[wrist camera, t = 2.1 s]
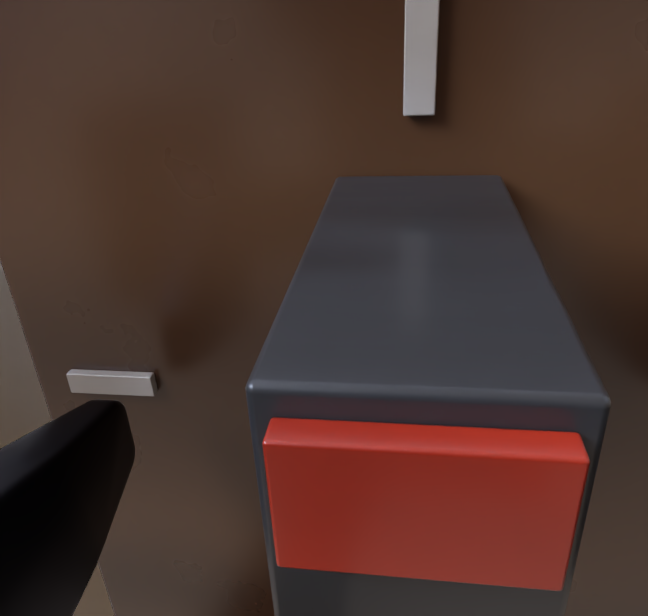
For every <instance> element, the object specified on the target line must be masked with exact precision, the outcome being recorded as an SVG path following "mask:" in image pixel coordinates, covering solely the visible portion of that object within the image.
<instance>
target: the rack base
mask: <svg viewBox="0 0 648 616" xmlns="http://www.w3.org/2000/svg"><path fill="white" fill-rule="evenodd" d="M462 175H498V176H501V177H502V179H503V181H504V183H505V185H506V187H507V189H508V191H509V193H510V195H511V198H512V200H513V202H514V204H515V206H516V208H517V210H518V212H519V214H520V216H521V218H522V220H523V222H524V224H525V226H526V228H527V230H528V232H529V234H530V236H531V238H532V240H533V242H534V244H535V246H536V248H537V250H538V252H539V254H540V256H541V259H542V261H543V263H544V265H545V267H546V269H547V271H548V273H549V275H550V277H551V279H552V281H553V283H554V285H555V287H556V289H557V291H558V293H559V295H560V297H561V299H562V301H563V303H564V305H565V307H566V309H567V311H568V313H569V315H570V317H571V320H572V322H573V324H574V326H575V328H576V330H577V332H578V334H579V336H580V338H581V340H582V342H583V344H584V346H585V348H586V350H587V352H588V354H589V356H590V358H591V360H592V362H593V364H594V366H595V368H596V370H597V372H598V374H599V376H600V378H601V381H602V383H603V385H604V387H605V389H606V391H607V393H608V395H609V397H610V400H611V408H610V412H609V417H608V421H607V426H606V430H605V435H604V439H603V444H602V448H601V453H600V457H599V462H598V466H597V471H596V475H595V480H594V484H593V489H592V493H591V498H590V503H589V507H588V512H587V516H586V521H585V525H584V530H583V534H582V539H581V543H580V548H579V552H578V557H577V561H576V566H575V570H574V575H573V579H572V584H571V588H570V593H569V597H568V602H567V606H566V611H565V615H564V616H648V0H0V261H1V264H2V267H3V270H4V273H5V276H6V279H7V282H8V285H9V288H10V292H11V295H12V298H13V301H14V304H15V307H16V310H17V313H18V316H19V319H20V323H21V326H22V329H23V332H24V335H25V338H26V341H27V344H28V347H29V350H30V354H31V357H32V360H33V363H34V366H35V369H36V372H37V375H38V378H39V381H40V385H41V388H42V391H43V394H44V397H45V400H46V403H47V406H48V409H49V412H50V416H51V419H52V421H53V420H55V419H56V418H58V417H60V416H62V415H64V414H66V413H68V412H69V411H71V410H73V409H75V408H77V407H79V406H81V405H82V404H84V403H86V402H88V401H90V400H94V399H102V400H118V401H120V402H121V403H123V405H124V406H125V409H126V412H127V416H128V420H129V424H130V428H131V432H132V436H133V440H134V445H135V459H134V463H133V466H132V469H131V472H130V475H129V477H128V480H127V483H126V486H125V489H124V491H123V494H122V497H121V500H120V502H119V505H118V508H117V511H116V514H115V516H114V519H113V522H112V525H111V527H110V530H109V533H108V536H107V539H106V541H105V544H104V547H103V549H102V552H101V554H100V557H99V560H98V564H99V568H100V571H101V574H102V577H103V580H104V583H105V586H106V589H107V592H108V595H109V599H110V602H111V605H112V608H113V611H114V614H115V616H275V615H274V607H273V600H272V592H271V584H270V576H269V569H268V561H267V553H266V545H265V538H264V530H263V522H262V514H261V507H260V499H259V491H258V483H257V476H256V468H255V460H254V453H253V445H252V437H251V429H250V422H249V414H248V406H247V398H246V391H245V387H246V384H247V381H248V379H249V377H250V374H251V372H252V370H253V368H254V365H255V363H256V361H257V358H258V356H259V354H260V352H261V349H262V347H263V345H264V342H265V340H266V338H267V336H268V333H269V331H270V329H271V326H272V324H273V322H274V319H275V317H276V315H277V313H278V310H279V308H280V306H281V303H282V301H283V299H284V297H285V294H286V292H287V290H288V287H289V285H290V283H291V281H292V278H293V276H294V274H295V271H296V269H297V267H298V265H299V262H300V260H301V258H302V255H303V253H304V251H305V249H306V246H307V244H308V242H309V239H310V237H311V235H312V233H313V230H314V228H315V226H316V223H317V221H318V219H319V217H320V214H321V212H322V210H323V207H324V205H325V203H326V201H327V198H328V196H329V194H330V191H331V189H332V187H333V185H334V182H335V180H336V178H338V177H350V176H462Z"/></svg>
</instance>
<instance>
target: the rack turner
mask: <svg viewBox="0 0 648 616" xmlns="http://www.w3.org/2000/svg"><path fill="white" fill-rule="evenodd" d="M245 391H246V398H247V406H248V414H249V422H250V429H251V437H252V445H253V453H254V460H255V468H256V476H257V483H258V491H259V499H260V507H261V514H262V522H263V530H264V538H265V545H266V553H267V561H268V569H269V576H270V584H271V592H272V600H273V607H274V615H275V616H564V615H565V611H566V606H567V602H568V597H569V593H570V588H571V584H572V579H573V575H574V570H575V566H576V561H577V557H578V552H579V548H580V543H581V539H582V534H583V530H584V525H585V521H586V516H587V512H588V507H589V503H590V498H591V493H592V489H593V484H594V480H595V475H596V471H597V466H598V462H599V457H600V453H601V448H602V444H603V439H604V435H605V430H606V426H607V421H608V417H609V412H610V408H611V400H610V397H609V395H608V393H607V391H606V389H605V387H604V385H603V383H602V381H601V378H600V376H599V374H598V372H597V370H596V368H595V366H594V364H593V362H592V360H591V358H590V356H589V354H588V352H587V350H586V348H585V346H584V344H583V342H582V340H581V338H580V336H579V334H578V332H577V330H576V328H575V326H574V324H573V322H572V320H571V317H570V315H569V313H568V311H567V309H566V307H565V305H564V303H563V301H562V299H561V297H560V295H559V293H558V291H557V289H556V287H555V285H554V283H553V281H552V279H551V277H550V275H549V273H548V271H547V269H546V267H545V265H544V263H543V261H542V259H541V256H540V254H539V252H538V250H537V248H536V246H535V244H534V242H533V240H532V238H531V236H530V234H529V232H528V230H527V228H526V226H525V224H524V222H523V220H522V218H521V216H520V214H519V212H518V210H517V208H516V206H515V204H514V202H513V200H512V198H511V195H510V193H509V191H508V189H507V187H506V185H505V183H504V181H503V179H502V177H501V176H498V175H462V176H350V177H338V178H336V180H335V182H334V185H333V187H332V189H331V191H330V194H329V196H328V198H327V201H326V203H325V205H324V207H323V210H322V212H321V214H320V217H319V219H318V221H317V223H316V226H315V228H314V230H313V233H312V235H311V237H310V239H309V242H308V244H307V246H306V249H305V251H304V253H303V255H302V258H301V260H300V262H299V265H298V267H297V269H296V271H295V274H294V276H293V278H292V281H291V283H290V285H289V287H288V290H287V292H286V294H285V297H284V299H283V301H282V303H281V306H280V308H279V310H278V313H277V315H276V317H275V319H274V322H273V324H272V326H271V329H270V331H269V333H268V336H267V338H266V340H265V342H264V345H263V347H262V349H261V352H260V354H259V356H258V358H257V361H256V363H255V365H254V368H253V370H252V372H251V374H250V377H249V379H248V381H247V384H246V387H245Z"/></svg>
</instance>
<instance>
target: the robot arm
mask: <svg viewBox="0 0 648 616" xmlns="http://www.w3.org/2000/svg"><path fill="white" fill-rule="evenodd" d="M134 459H135V445H134V440H133V436H132V432H131V428H130V424H129V420H128V416H127V412H126V409H125V406H124V405H123V403H121V402H120V401H118V400H102V399H94V400H90V401H88V402H86V403H84V404H82V405H81V406H79V407H77V408H75V409H73V410H71V411H69V412H68V413H66V414H64V415H62V416H60V417H58V418H56V419H55V420H53V421H51V422H49V423H47V424H45V425H43V426H42V427H40V428H38V429H36V430H34V431H32V432H31V433H29V434H27V435H25V436H23V437H21V438H19V439H18V440H16V441H14V442H12V443H10V444H8V445H6V446H5V447H3V448H1V449H0V616H72V615H73V613H74V611H75V609H76V607H77V605H78V603H79V601H80V599H81V596H82V594H83V592H84V590H85V588H86V586H87V584H88V582H89V580H90V578H91V575H92V573H93V571H94V569H95V567H96V564H97V562H98V560H99V557H100V554H101V552H102V549H103V547H104V544H105V541H106V539H107V536H108V533H109V530H110V527H111V525H112V522H113V519H114V516H115V514H116V511H117V508H118V505H119V502H120V500H121V497H122V494H123V491H124V489H125V486H126V483H127V480H128V477H129V475H130V472H131V469H132V466H133V463H134Z"/></svg>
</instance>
